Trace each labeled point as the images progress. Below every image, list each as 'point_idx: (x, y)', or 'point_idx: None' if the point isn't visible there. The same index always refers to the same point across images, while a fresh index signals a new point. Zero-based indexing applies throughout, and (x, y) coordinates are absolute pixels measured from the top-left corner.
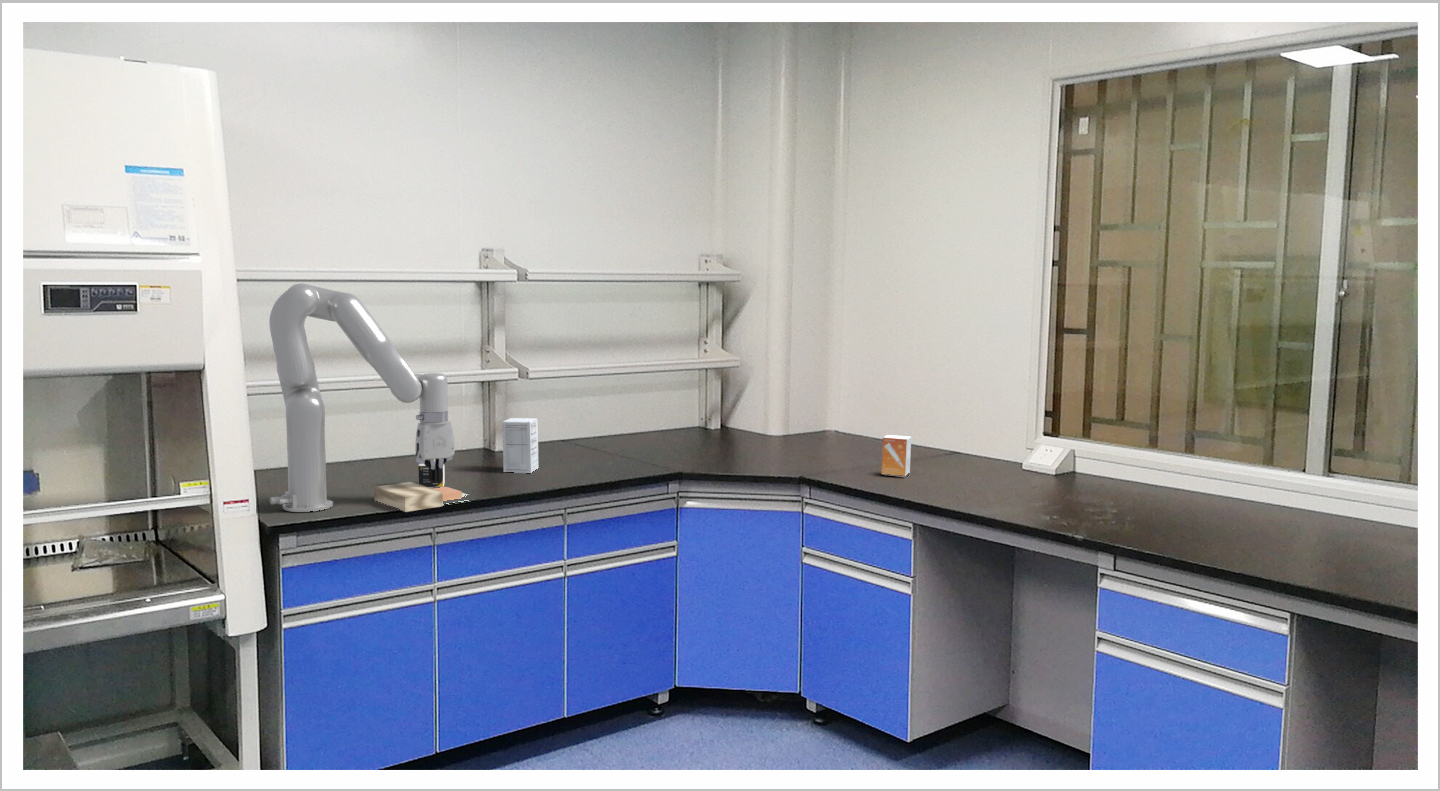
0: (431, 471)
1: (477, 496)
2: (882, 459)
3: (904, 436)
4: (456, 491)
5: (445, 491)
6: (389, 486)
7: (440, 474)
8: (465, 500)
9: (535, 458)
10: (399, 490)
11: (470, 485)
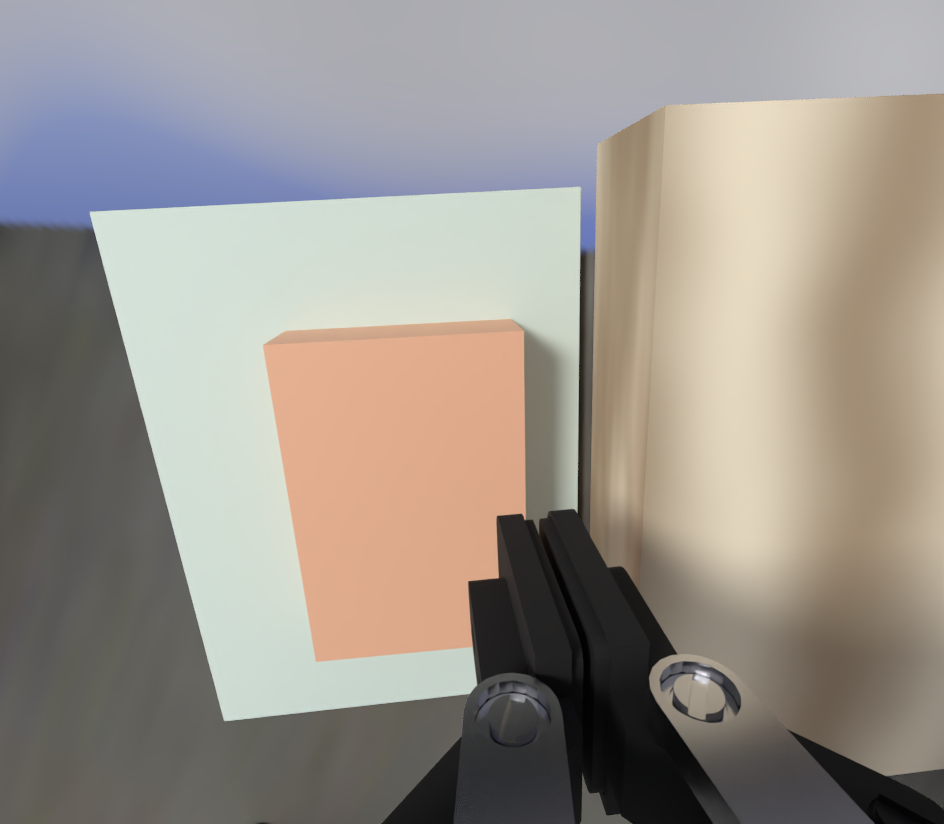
0: (675, 651)
1: (81, 387)
2: None
3: None
4: (317, 390)
5: (425, 455)
6: (891, 718)
7: (486, 615)
8: (288, 215)
9: None
10: None
11: (7, 815)
